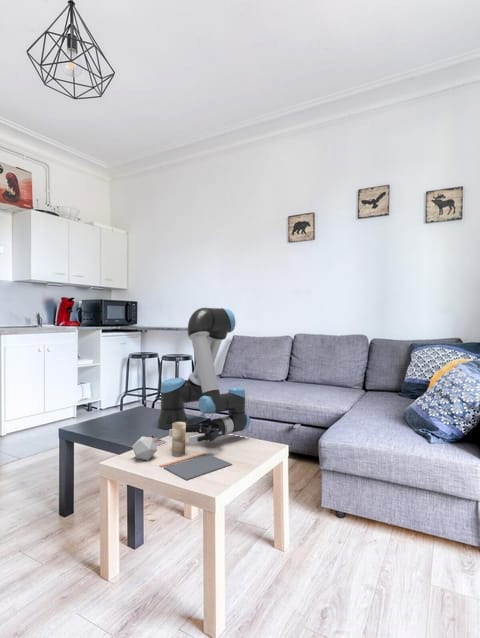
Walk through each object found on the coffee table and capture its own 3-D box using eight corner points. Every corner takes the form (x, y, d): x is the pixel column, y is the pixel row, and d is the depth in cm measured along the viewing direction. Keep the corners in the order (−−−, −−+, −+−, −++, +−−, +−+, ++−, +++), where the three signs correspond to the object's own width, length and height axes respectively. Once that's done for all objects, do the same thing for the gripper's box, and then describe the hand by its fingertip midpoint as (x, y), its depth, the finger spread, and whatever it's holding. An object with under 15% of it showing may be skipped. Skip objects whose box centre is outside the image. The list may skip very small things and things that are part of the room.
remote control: (159, 450, 151) (159, 442, 151) (133, 443, 160) (133, 436, 160) (170, 445, 156) (170, 438, 157) (145, 439, 165) (145, 432, 165)
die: (161, 458, 142) (155, 434, 146) (154, 454, 134) (148, 429, 139) (140, 466, 141) (135, 442, 146) (133, 463, 133) (127, 437, 138)
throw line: (203, 453, 146) (203, 452, 146) (206, 454, 145) (206, 453, 145) (159, 466, 132) (159, 465, 132) (161, 467, 131) (161, 466, 131)
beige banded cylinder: (180, 450, 148) (180, 421, 148) (187, 454, 144) (188, 423, 144) (169, 453, 145) (169, 423, 145) (176, 457, 141) (177, 426, 141)
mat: (208, 454, 144) (208, 453, 144) (232, 464, 133) (232, 463, 133) (163, 468, 130) (163, 467, 130) (186, 480, 120) (186, 479, 120)
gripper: (240, 442, 150) (198, 454, 135) (202, 429, 168) (162, 439, 153) (240, 423, 150) (199, 434, 135) (202, 413, 168) (162, 421, 153)
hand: (179, 436), depth 144 cm, fingers open, 13 cm apart
